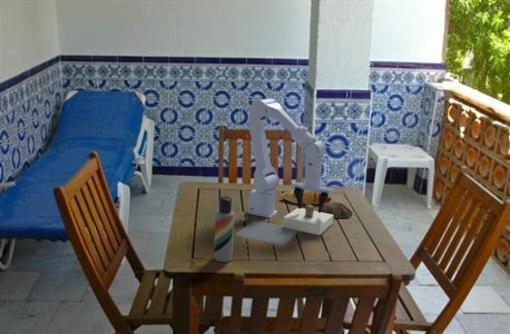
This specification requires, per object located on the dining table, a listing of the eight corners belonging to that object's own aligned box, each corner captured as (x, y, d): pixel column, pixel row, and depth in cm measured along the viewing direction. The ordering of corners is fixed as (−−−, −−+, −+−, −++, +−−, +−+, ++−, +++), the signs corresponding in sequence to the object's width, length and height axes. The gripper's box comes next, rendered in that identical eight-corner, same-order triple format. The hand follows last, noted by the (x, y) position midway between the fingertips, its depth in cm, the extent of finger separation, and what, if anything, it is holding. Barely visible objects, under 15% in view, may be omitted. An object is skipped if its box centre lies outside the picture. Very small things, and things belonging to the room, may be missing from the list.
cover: (282, 226, 199) (284, 207, 197) (297, 216, 211) (299, 197, 209) (319, 235, 193) (321, 215, 191) (332, 224, 205) (334, 205, 203)
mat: (234, 235, 189) (234, 234, 189) (254, 220, 204) (254, 220, 204) (283, 246, 182) (283, 245, 182) (300, 230, 197) (300, 229, 197)
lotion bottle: (213, 254, 173) (216, 194, 168) (231, 254, 174) (234, 194, 168) (213, 262, 168) (216, 200, 162) (232, 262, 168) (235, 200, 163)
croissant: (278, 210, 228) (279, 196, 222) (280, 192, 235) (280, 179, 230) (330, 213, 226) (331, 199, 221) (330, 195, 233) (331, 182, 228)
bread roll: (315, 210, 220) (316, 198, 219) (342, 207, 225) (343, 196, 224) (330, 221, 209) (332, 208, 208) (358, 218, 214) (360, 206, 212)
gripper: (290, 173, 197) (287, 209, 200) (329, 180, 191) (325, 216, 195) (296, 169, 203) (294, 204, 207) (334, 175, 198) (331, 211, 201)
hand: (310, 210), depth 201 cm, fingers open, 7 cm apart
